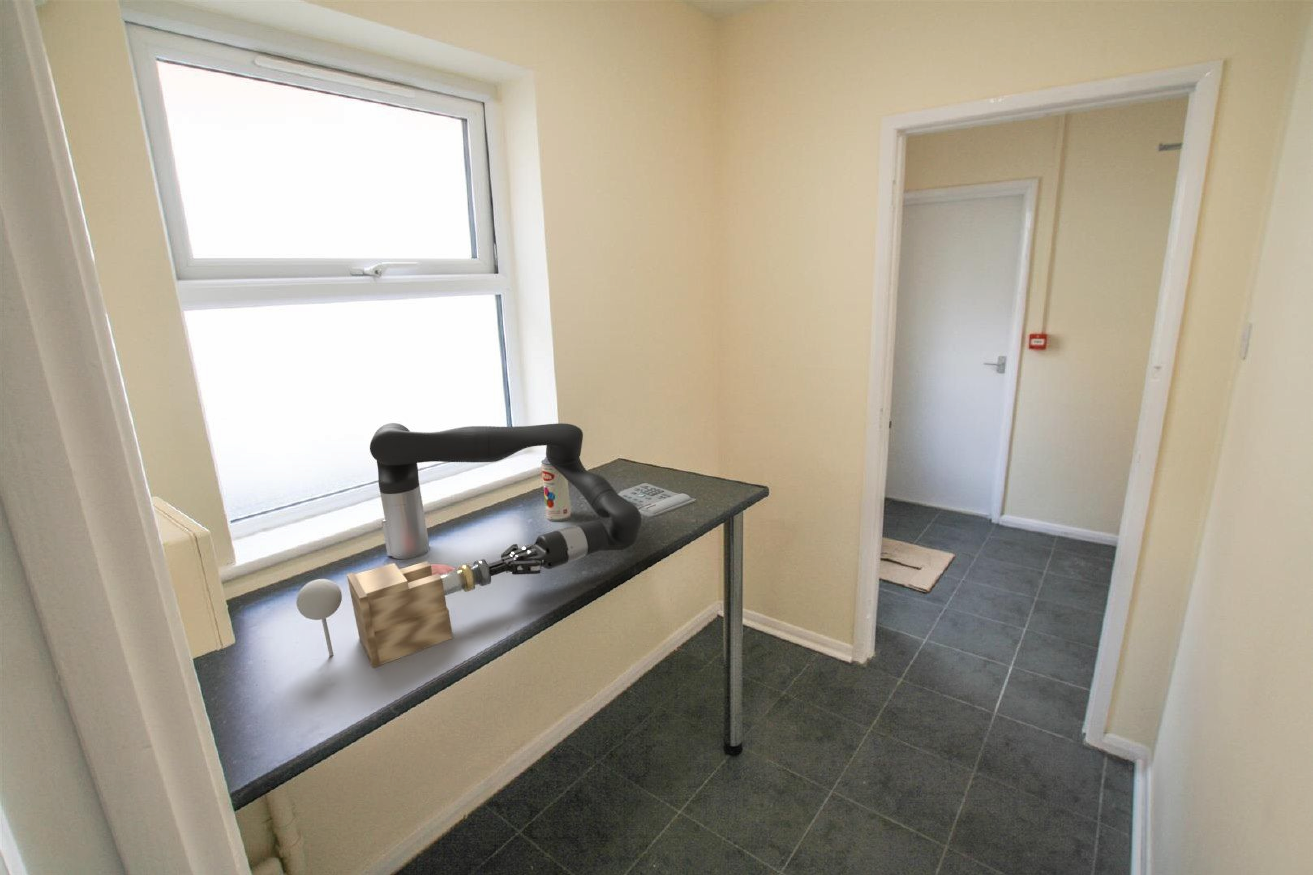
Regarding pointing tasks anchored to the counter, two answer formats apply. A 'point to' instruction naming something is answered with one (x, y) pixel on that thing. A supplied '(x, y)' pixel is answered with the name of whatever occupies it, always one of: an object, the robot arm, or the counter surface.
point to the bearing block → (399, 610)
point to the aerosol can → (555, 493)
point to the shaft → (467, 577)
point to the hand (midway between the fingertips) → (486, 571)
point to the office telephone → (654, 499)
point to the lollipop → (320, 603)
